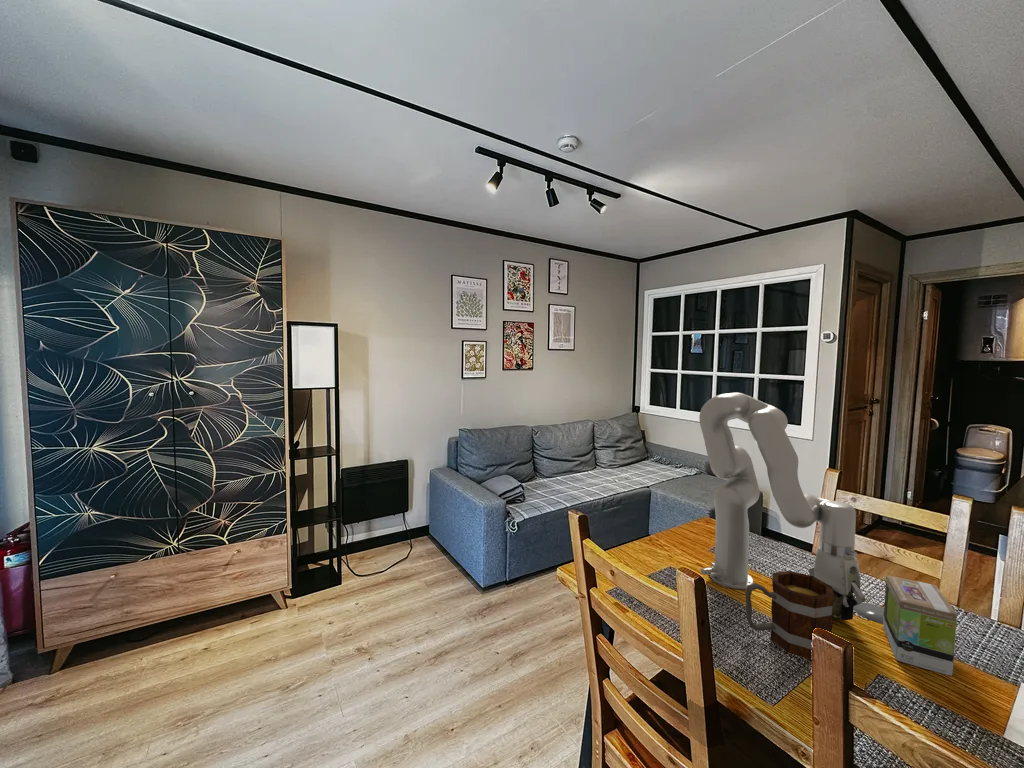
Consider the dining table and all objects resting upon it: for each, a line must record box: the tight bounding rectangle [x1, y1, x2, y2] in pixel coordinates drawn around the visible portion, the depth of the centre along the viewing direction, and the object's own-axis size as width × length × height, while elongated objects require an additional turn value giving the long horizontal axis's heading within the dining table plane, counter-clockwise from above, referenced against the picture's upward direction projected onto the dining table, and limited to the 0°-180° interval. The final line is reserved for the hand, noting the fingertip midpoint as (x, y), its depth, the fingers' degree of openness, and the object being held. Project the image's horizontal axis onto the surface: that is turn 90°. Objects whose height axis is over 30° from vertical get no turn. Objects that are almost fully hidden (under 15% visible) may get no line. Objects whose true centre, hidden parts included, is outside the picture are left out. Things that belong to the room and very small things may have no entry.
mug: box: [744, 570, 834, 661], centre depth 106 cm, size 20×14×15 cm
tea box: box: [882, 574, 958, 677], centre depth 103 cm, size 15×10×15 cm, turn 148°
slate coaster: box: [853, 602, 884, 624], centre depth 118 cm, size 10×10×1 cm
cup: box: [832, 590, 850, 621], centre depth 117 cm, size 8×7×8 cm
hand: (834, 610), depth 117 cm, fingers closed on cup, 6 cm apart
